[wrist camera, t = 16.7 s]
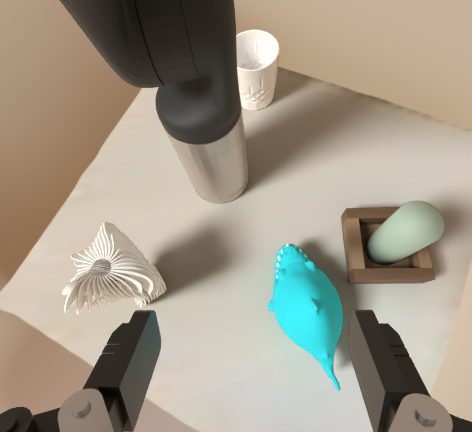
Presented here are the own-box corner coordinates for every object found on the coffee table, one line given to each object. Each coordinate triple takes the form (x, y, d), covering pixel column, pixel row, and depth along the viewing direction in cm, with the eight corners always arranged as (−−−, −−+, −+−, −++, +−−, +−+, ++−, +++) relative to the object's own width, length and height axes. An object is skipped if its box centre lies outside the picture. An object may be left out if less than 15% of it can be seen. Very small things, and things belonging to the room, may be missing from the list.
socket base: (422, 283, 45) (434, 279, 42) (348, 283, 46) (354, 280, 43) (410, 214, 49) (420, 206, 45) (341, 216, 49) (346, 208, 46)
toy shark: (316, 242, 49) (329, 219, 38) (365, 372, 42) (396, 384, 32) (253, 261, 48) (249, 242, 38) (293, 394, 42) (301, 413, 32)
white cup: (231, 80, 60) (224, 33, 50) (274, 74, 59) (275, 26, 50) (234, 116, 57) (228, 73, 48) (279, 110, 57) (282, 66, 47)
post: (403, 265, 46) (449, 243, 35) (366, 266, 46) (400, 245, 35) (397, 231, 48) (439, 199, 36) (361, 232, 48) (392, 201, 37)
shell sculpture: (159, 247, 50) (105, 204, 33) (183, 295, 48) (137, 274, 31) (110, 275, 50) (30, 246, 33) (132, 325, 47) (56, 321, 30)
